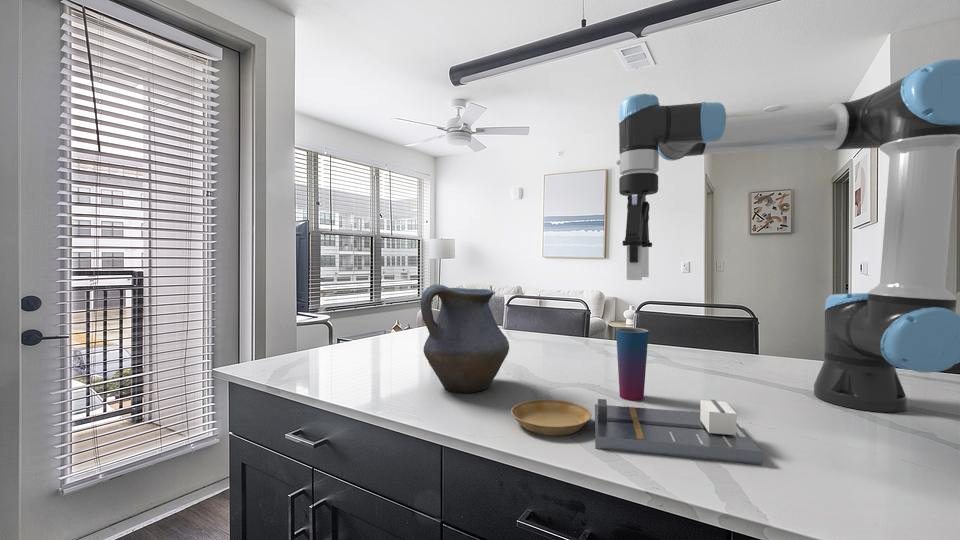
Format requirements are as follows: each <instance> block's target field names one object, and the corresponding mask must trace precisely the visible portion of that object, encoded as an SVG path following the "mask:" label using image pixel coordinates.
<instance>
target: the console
mask: <svg viewBox="0 0 960 540" xmlns="http://www.w3.org/2000/svg"><path fill="white" fill-rule="evenodd" d="M594 440H595V441H594V443H595V446H594V447H595V448H594V449H598V450H609V451H617V452H618V451H619V452H627V453H630V452H631V453H639V454H650V455H659V456H671V457H681V458H688V459H689V458H690V459H700V460H709V461H719V462H729V463H740V464H751V465H759V466H762V463H763V461H762V460H763V459H762V458H763V454H762V453H763V452H762V450H761V449H760V447H759V446H757V444H756V443H755V442H754V441H753V439H751V438H750V436H749V435H748V434H747V432H745V431H744V430H743V428H742V427H741V426H740V425H739V424H738V423H737V422H736V435H728V434H716V433H709V432H708V431H707V429H706V428H705V426H704V425H703V423H702V422H701V420H700V412H699V411H687V410H686V411H685V410H676V409H675V410H673V409H661V408H649V407H635V406H634V407H633V406H623V405H621V406H620V405H609V404H608V401H607V399H605V398H602V399H601V398H597V404H594Z"/></svg>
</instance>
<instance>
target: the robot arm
mask: <svg viewBox="0 0 960 540" xmlns="http://www.w3.org/2000/svg"><path fill="white" fill-rule="evenodd" d="M618 130H619V133H618V136H619V137H618V138H619V139H618V141H619V142H618V143H619V147H618V148H619V149H618V150H619V158H620V159H617V160H616V165H617V166H619V175H621V176H620V178H618V179H619V181H618V182H619V183H618V187H619V188H618V191H619V195H621V196H624V197H627V199H626V200H627V205H626V209H627V213H626V225H625V237H624V240H622V246H624V247H626V281H642V280H643V278H649V277H650V276H649V275H650V274H649V269H650V268H649V267H650V265H649V263H650V260H649V258H650V256H649V253H650V251H649V249H650V248H653V247H652V246H653V242H650V235H649V234H650V231H649V229H650V228H649V227H650V226H649V222H650V221H649V219H650V202H649V201H647V199H646V196H648V195H649V196H650V195H655V194H657V193H658V192H659V175H658V174H657V173H658V172H659V169H660V168H659V159H660V157H661V158H662V159H664V160H666V161H677V160H680V159H684V158H685V157H693V156H694V157H695V156H705V155H716V154H719V155H720V154H731V153H733V154H734V153H743V152H744V153H745V152H746V153H747V152H756V151H757V152H758V151H771V150H772V151H773V150H785V149H799V148H811V147H813V148H815V147H824V148H825V149H827V150H828V151H838V150H859V149H862V150H863V149H879V150H880V151H881V152H882V153H884V154H885V155H886V156H888V158H889V160H888V161H889V164H888V173H887V174H888V175H887V188H886V189H887V190H886V199H885V200H886V201H885V212H884V213H885V214H884V228H883V239H882V251H881V252H882V253H881V254H882V255H881V266H880V278H879V283H878V285H877V286H875V287H873V288H872V289H871V290H869V291H868V292H864V293H863V292H861V293H860V292H859V293H858V292H857V293H856V292H854V293H835V294H831V295H829V296H828V297H827V298H826V299H825V304H824V305H825V307H824V311H823V312H824V358H823V363H822V366H821V368H820V370H819V372H818V374H817V377H816V379H815V381H814V384H813V395H814V397H816V398H818V399H820V400H822V401H824V402H828V403H831V404H834V405H838V406H841V407H846V408H851V409H857V410H862V411H868V412H870V411H871V412H879V413H881V412H882V413H897V412H898V413H899V412H903V411H906V410H907V400H908V398H907V396H906V393H905V391H904V388H903V384H902V383H901V380H900V377H899V375H898V373H897V369H896V368H899V369H902V370H905V371H907V370H908V371H913V372H917V373H926V374H927V373H928V374H929V373H931V374H932V373H938V372H939V373H940V372H942V371H947V370H949V369H951V368H952V367H954V366H955V365H957V364H959V363H960V314H958V313H957V312H956V311H957V310H956V309H957V300H958V299H957V296H955V295H954V294H953V293H951V292H950V291H949V290H948V289H947V287H946V282H947V281H946V280H947V269H948V256H949V247H950V246H949V244H950V231H951V221H952V218H951V217H952V207H953V206H952V205H953V198H954V197H953V196H954V185H955V174H956V160H957V152H958V150H960V59H957V58H949V59H943V60H938V61H934V62H932V63H930V64H927V65H925V66H922V67H919V68H917V69H914V70H913V71H911V72H910V73H908V74H907V75H906V76H904V77H902V78H900V79H899V80H897V81H895V82H893V83H891V84H889V85H888V86H885V87H883V88H881V89H880V90H878V91H875V92H874V93H872V94H869V95H866V96H864V97H862V98H858V99H856V100H851V101H846V102H836V103H833V104H831V105H830V107H828V108H825V109H813V110H811V109H810V110H803V111H801V110H800V111H791V112H782V113H781V112H780V113H769V114H758V115H750V116H749V115H748V116H747V115H746V116H737V117H735V116H734V117H727V113H726V108H725V105H724V104H723V103H721V102H716V101H715V102H713V101H711V102H706V101H703V102H698V103H684V104H672V105H671V104H670V105H660V102H659V97H658V96H657V95H655V94H653V93H651V94H650V93H649V94H648V93H639V94H634V95H631V96H629V97H627V98H625V99H624V100H622V102H621V103H620V106H619V122H618Z"/></svg>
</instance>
